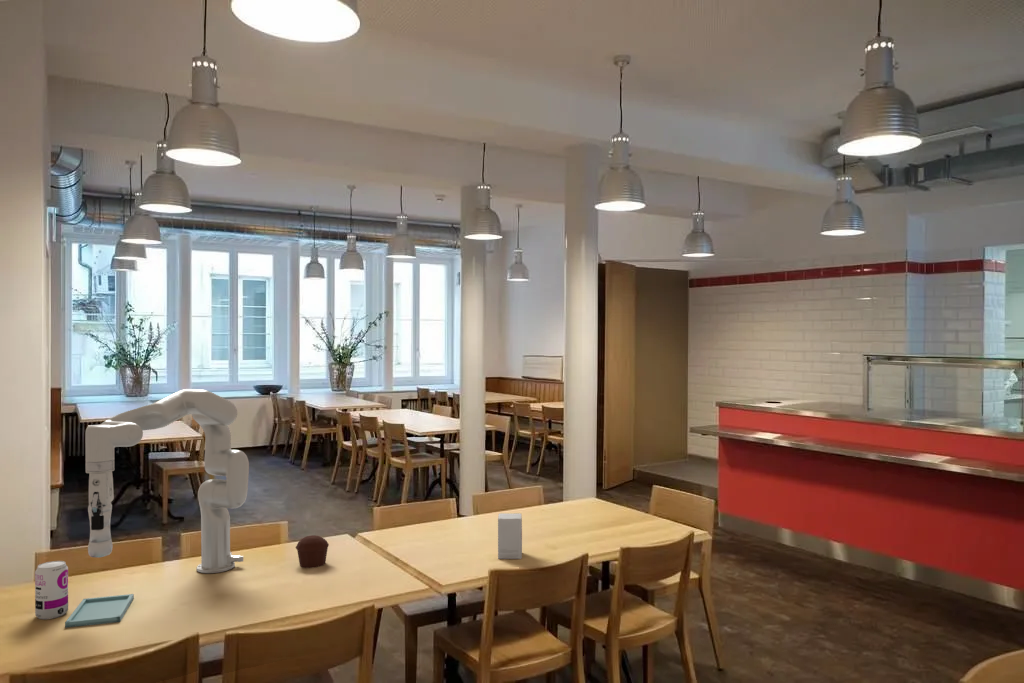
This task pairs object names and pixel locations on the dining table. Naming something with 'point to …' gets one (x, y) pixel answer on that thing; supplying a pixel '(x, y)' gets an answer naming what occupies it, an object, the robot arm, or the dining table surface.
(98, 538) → the plastic bottle
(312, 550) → the muffin
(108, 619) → the tray
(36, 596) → the supplement can
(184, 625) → the dining table surface
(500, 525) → the supplement box
